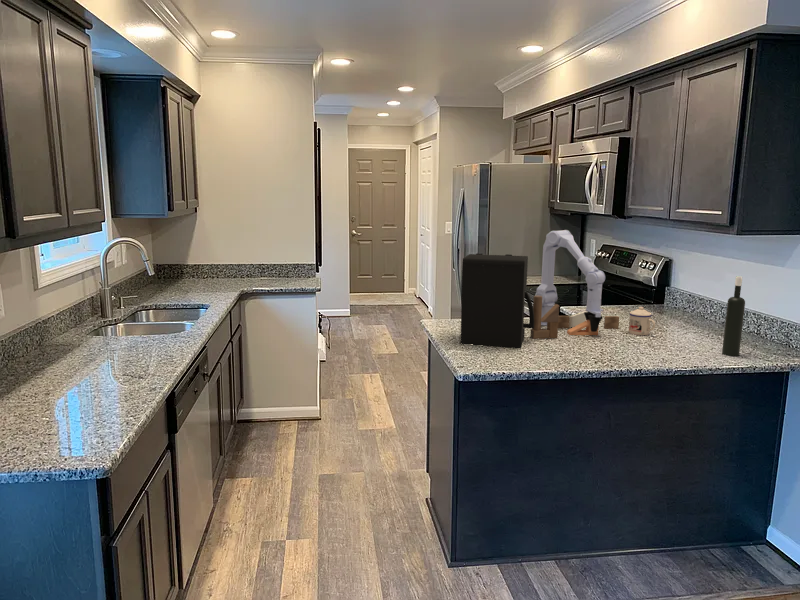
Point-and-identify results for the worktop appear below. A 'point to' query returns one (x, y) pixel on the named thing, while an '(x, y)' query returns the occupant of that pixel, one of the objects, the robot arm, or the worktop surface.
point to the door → (577, 319)
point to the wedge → (578, 331)
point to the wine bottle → (734, 322)
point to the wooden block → (544, 320)
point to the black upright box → (494, 300)
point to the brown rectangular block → (608, 322)
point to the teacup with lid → (640, 322)
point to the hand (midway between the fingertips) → (592, 330)
